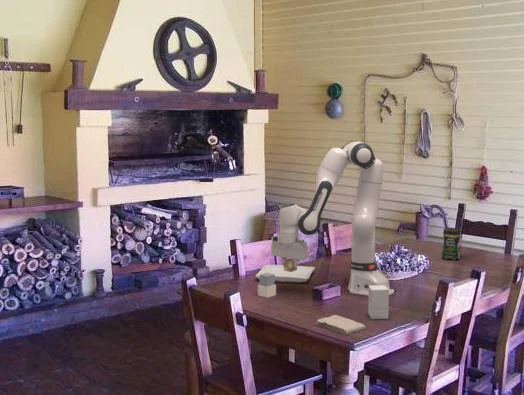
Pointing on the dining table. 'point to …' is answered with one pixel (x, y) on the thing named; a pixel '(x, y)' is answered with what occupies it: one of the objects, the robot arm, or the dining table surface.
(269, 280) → the tower top
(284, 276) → the square plate
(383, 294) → the supplement box
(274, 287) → the tower base
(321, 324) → the washcloth
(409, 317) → the dining table surface
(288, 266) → the beech cube
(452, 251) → the coffee jar
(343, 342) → the dining table surface
